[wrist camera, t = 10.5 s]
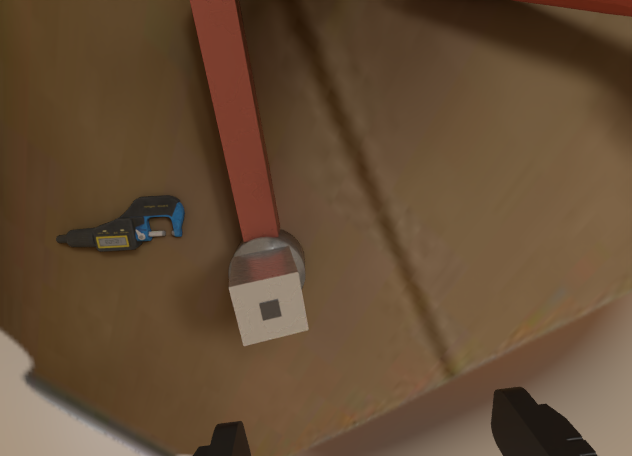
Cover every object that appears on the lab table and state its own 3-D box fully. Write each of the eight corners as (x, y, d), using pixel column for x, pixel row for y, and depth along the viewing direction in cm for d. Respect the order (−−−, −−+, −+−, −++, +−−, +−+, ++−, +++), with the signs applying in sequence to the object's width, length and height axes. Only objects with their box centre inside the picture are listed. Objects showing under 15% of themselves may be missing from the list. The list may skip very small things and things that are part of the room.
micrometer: (177, 197, 29) (186, 248, 30) (184, 193, 31) (192, 242, 32) (39, 203, 28) (55, 256, 30) (54, 199, 30) (69, 248, 31)
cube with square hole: (232, 257, 28) (228, 287, 22) (288, 245, 28) (298, 272, 23) (244, 306, 29) (243, 346, 24) (297, 294, 30) (308, 330, 24)
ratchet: (173, 0, 25) (133, -41, 19) (260, -12, 25) (248, -57, 19) (243, 295, 34) (231, 333, 27) (309, 285, 34) (311, 321, 28)
